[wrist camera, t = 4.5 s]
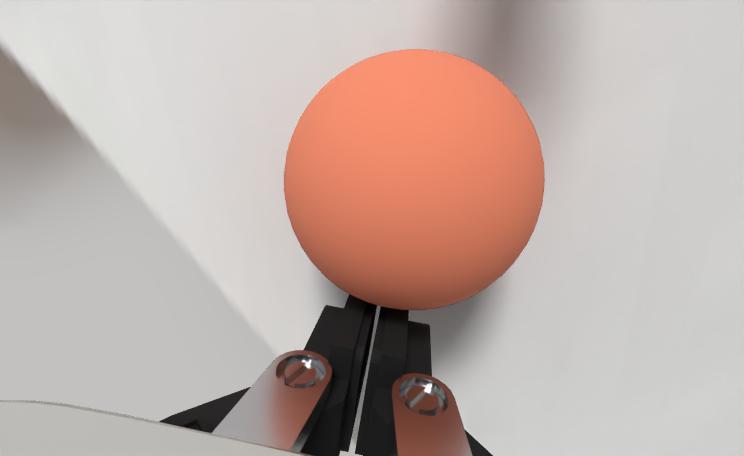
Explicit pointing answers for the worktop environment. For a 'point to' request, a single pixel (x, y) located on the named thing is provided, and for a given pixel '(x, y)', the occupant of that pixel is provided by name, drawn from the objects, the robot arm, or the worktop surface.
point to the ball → (414, 179)
